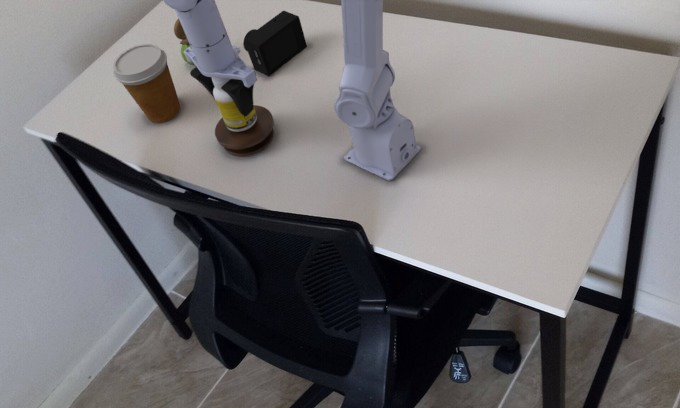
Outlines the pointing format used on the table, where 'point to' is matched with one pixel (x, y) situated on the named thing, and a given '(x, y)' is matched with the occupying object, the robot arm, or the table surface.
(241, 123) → the supplement bottle
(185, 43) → the snail figurine
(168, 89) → the disposable coffee cup
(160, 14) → the table surface
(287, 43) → the digital camera
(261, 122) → the stand
